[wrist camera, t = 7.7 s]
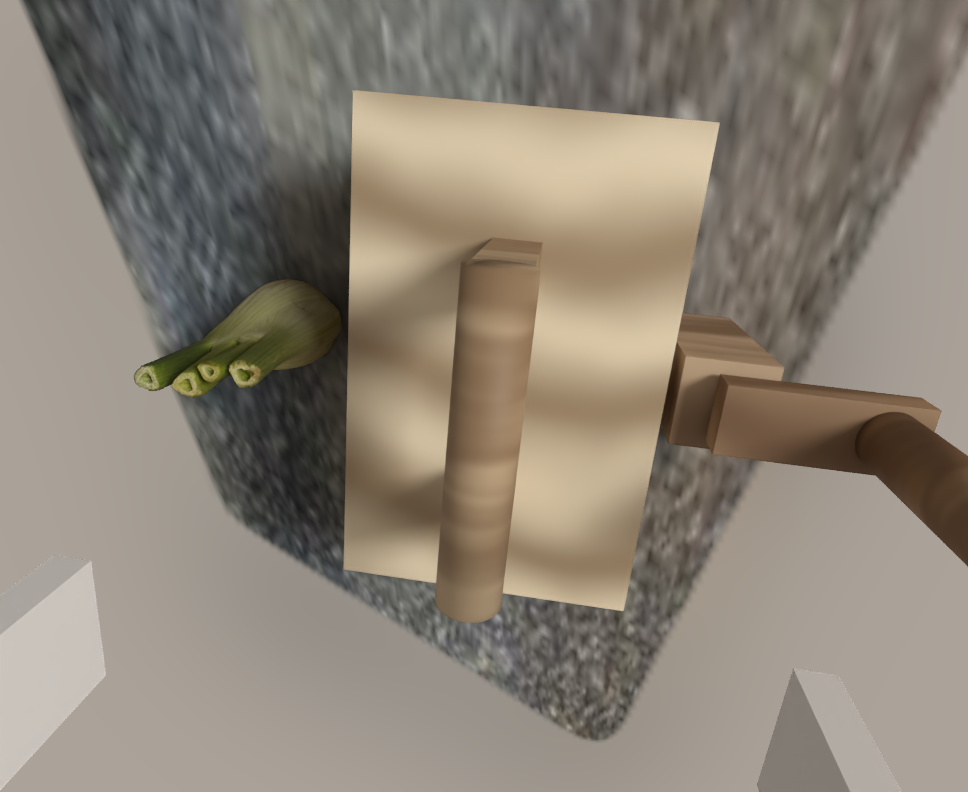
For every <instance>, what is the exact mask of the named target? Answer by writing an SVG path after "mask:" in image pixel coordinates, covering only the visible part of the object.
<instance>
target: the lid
mask: <svg viewBox="0 0 968 792" xmlns="http://www.w3.org/2000/svg"><path fill="white" fill-rule="evenodd" d="M719 124H720V123H717V122H706V121H695V120H683V119H672V118H661V117H649V116H638V115H627V114H616V113H604V112H593V111H582V110H570V109H559V108H548V107H536V106H525V105H514V104H502V103H491V102H480V101H469V100H457V99H446V98H435V97H423V96H412V95H401V94H389V93H378V92H367V91H355V90H353V119H352V170H351V221H350V272H349V323H348V374H347V425H346V476H345V527H344V569H345V570H352V571H359V572H365V573H372V574H379V575H385V576H392V577H399V578H406V579H412V580H419V581H426V582H432V583H436V590H435V604H436V606H437V608H438V609H439V610H440V612H441V613H443V614H444V615H445V616H447V617H449V618H451V619H453V620H456V621H460V622H466V623H476V622H482V621H486V620H488V619H490V618H492V617H494V616H495V615H496V614H497V613H498V612H499V610H500V608H501V602H502V594H503V593H506V594H513V595H519V596H526V597H533V598H539V599H546V600H553V601H559V602H566V603H573V604H579V605H586V606H593V607H599V608H606V609H613V610H620V611H624V606H625V601H626V596H627V591H628V585H629V580H630V575H631V570H632V565H633V560H634V555H635V550H636V545H637V540H638V535H639V530H640V525H641V520H642V515H643V509H644V504H645V499H646V494H647V489H648V484H649V479H650V474H651V469H652V464H653V459H654V454H655V449H656V444H657V439H658V433H659V428H660V423H661V418H662V413H663V408H664V403H665V398H666V393H667V388H668V383H669V378H670V373H671V368H672V362H673V357H674V352H675V347H676V342H677V337H678V332H679V327H680V322H681V317H682V312H683V307H684V302H685V297H686V292H687V286H688V281H689V276H690V271H691V266H692V261H693V256H694V251H695V246H696V241H697V236H698V231H699V226H700V221H701V215H702V210H703V205H704V200H705V195H706V190H707V185H708V180H709V175H710V170H711V165H712V160H713V155H714V150H715V145H716V139H717V134H718V129H719Z"/></svg>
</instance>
